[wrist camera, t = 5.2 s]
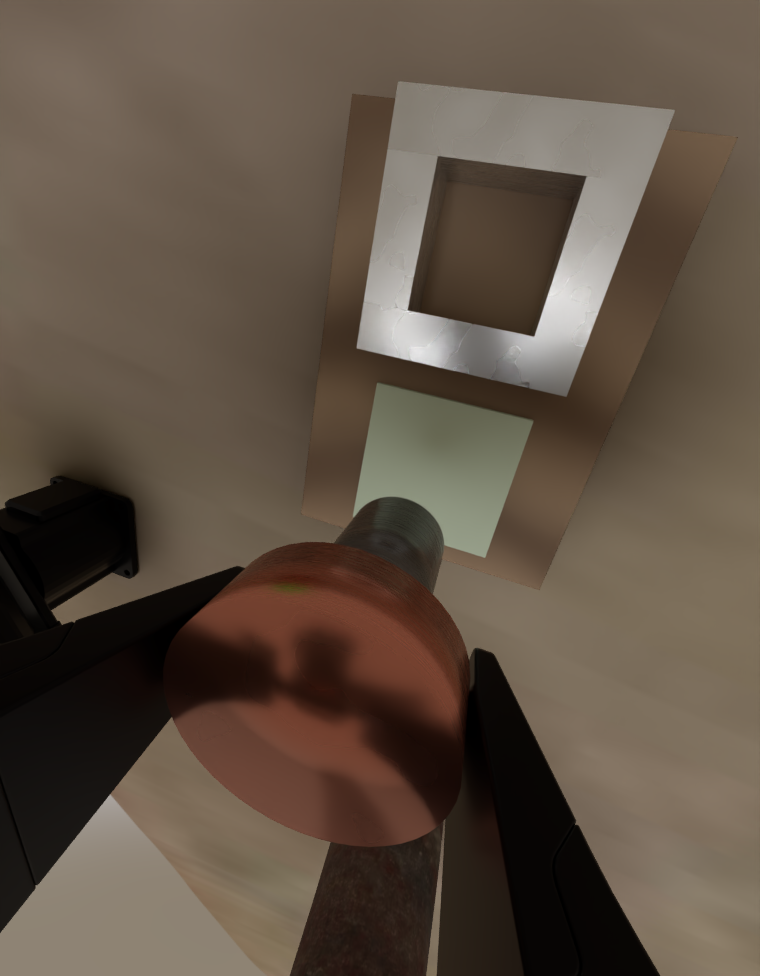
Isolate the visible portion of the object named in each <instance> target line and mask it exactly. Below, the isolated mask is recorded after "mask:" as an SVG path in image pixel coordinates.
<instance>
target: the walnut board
mask: <svg viewBox="0 0 760 976" xmlns="http://www.w3.org/2000/svg"><path fill="white" fill-rule="evenodd" d="M394 105H395V99H393V98H384V97H375V96H366V95H357V94H352V101H351V109H350V118H349V126H348V134H347V142H346V150H345V158H344V167H343V175H342V183H341V191H340V199H339V207H338V216H337V224H336V232H335V240H334V248H333V257H332V265H331V273H330V281H329V289H328V297H327V306H326V314H325V322H324V330H323V338H322V346H321V355H320V363H319V371H318V379H317V387H316V396H315V404H314V412H313V420H312V428H311V436H310V445H309V453H308V461H307V469H306V477H305V485H304V494H303V502H302V510H301V515H305V516H308V517H311V518H314V519H317V520H320V521H323V522H327V523H330V524H333V525H336V526H339V527H342V528H346V527H347V526H348V524H349V523H350V522H351V521H352V519H353V518H354V517H353V512H354V506H355V501H356V495H357V490H358V484H359V479H360V473H361V468H362V463H363V457H364V452H365V446H366V441H367V435H368V430H369V424H370V419H371V413H372V408H373V402H374V397H375V391H376V386H377V383H378V382H380V383H385V384H389V385H393V386H397V387H401V388H405V389H409V390H413V391H417V392H421V393H425V394H430V395H434V396H438V397H442V398H446V399H450V400H454V401H458V402H462V403H466V404H470V405H474V406H479V407H483V408H487V409H491V410H495V411H499V412H503V413H507V414H511V415H515V416H519V417H524V418H528V419H532V420H533V424H532V427H531V430H530V433H529V436H528V438H527V441H526V444H525V447H524V450H523V452H522V455H521V458H520V461H519V464H518V467H517V469H516V472H515V475H514V478H513V481H512V483H511V486H510V489H509V492H508V495H507V498H506V500H505V503H504V506H503V509H502V512H501V515H500V517H499V520H498V523H497V526H496V529H495V531H494V534H493V537H492V540H491V543H490V546H489V548H488V551H487V554H486V557H485V558H484V557H481V556H477V555H474V554H471V553H468V552H465V551H461V550H458V549H455V548H452V547H448V546H445V545H444V552H443V556H442V559H443V560H446V561H449V562H453V563H456V564H459V565H462V566H465V567H468V568H471V569H475V570H478V571H481V572H484V573H487V574H490V575H494V576H497V577H500V578H503V579H506V580H509V581H512V582H516V583H519V584H522V585H525V586H528V587H531V588H534V589H538V590H540V587H541V585H542V583H543V581H544V578H545V576H546V574H547V571H548V569H549V567H550V565H551V562H552V560H553V558H554V556H555V553H556V551H557V549H558V546H559V544H560V542H561V540H562V537H563V535H564V533H565V530H566V528H567V526H568V524H569V521H570V519H571V517H572V514H573V512H574V510H575V508H576V505H577V503H578V501H579V499H580V496H581V494H582V492H583V489H584V487H585V485H586V483H587V480H588V478H589V476H590V473H591V471H592V469H593V467H594V464H595V462H596V460H597V457H598V455H599V453H600V451H601V448H602V446H603V444H604V441H605V439H606V437H607V435H608V432H609V430H610V428H611V426H612V423H613V421H614V419H615V416H616V414H617V412H618V410H619V407H620V405H621V403H622V400H623V398H624V396H625V394H626V391H627V389H628V387H629V384H630V382H631V380H632V378H633V375H634V373H635V371H636V369H637V366H638V364H639V362H640V359H641V357H642V355H643V353H644V350H645V348H646V346H647V343H648V341H649V339H650V337H651V334H652V332H653V330H654V327H655V325H656V323H657V321H658V318H659V316H660V314H661V311H662V309H663V307H664V305H665V302H666V300H667V298H668V296H669V293H670V291H671V289H672V286H673V284H674V282H675V280H676V277H677V275H678V273H679V270H680V268H681V266H682V264H683V261H684V259H685V257H686V254H687V252H688V250H689V248H690V245H691V243H692V241H693V239H694V236H695V234H696V232H697V229H698V227H699V225H700V223H701V220H702V218H703V216H704V213H705V211H706V209H707V207H708V204H709V202H710V200H711V197H712V195H713V193H714V191H715V188H716V186H717V184H718V182H719V179H720V177H721V175H722V172H723V170H724V168H725V166H726V163H727V161H728V159H729V156H730V154H731V152H732V150H733V147H734V145H735V143H736V140H737V138H738V137H732V136H723V135H714V134H705V133H696V132H687V131H678V130H669V129H668V130H667V133H666V136H665V138H664V141H663V144H662V146H661V149H660V152H659V154H658V157H657V159H656V162H655V165H654V167H653V170H652V173H651V175H650V178H649V181H648V183H647V186H646V188H645V191H644V194H643V196H642V199H641V202H640V204H639V207H638V210H637V212H636V215H635V217H634V220H633V223H632V225H631V228H630V231H629V233H628V236H627V239H626V241H625V244H624V246H623V249H622V252H621V254H620V257H619V260H618V262H617V265H616V267H615V270H614V273H613V275H612V278H611V281H610V283H609V286H608V289H607V291H606V294H605V296H604V299H603V302H602V304H601V307H600V310H599V312H598V315H597V318H596V320H595V323H594V325H593V328H592V331H591V333H590V336H589V339H588V341H587V344H586V347H585V349H584V352H583V354H582V357H581V360H580V362H579V365H578V368H577V370H576V373H575V376H574V378H573V381H572V383H571V386H570V389H569V391H568V394H567V397H565V396H560V395H556V394H552V393H548V392H543V391H539V390H535V389H530V388H526V387H522V386H517V385H513V384H509V383H504V382H500V381H496V380H491V379H487V378H483V377H478V376H474V375H470V374H465V373H461V372H457V371H452V370H448V369H444V368H439V367H435V366H431V365H426V364H422V363H418V362H414V361H409V360H405V359H401V358H396V357H392V356H388V355H383V354H379V353H375V352H370V351H366V350H362V349H357V348H356V347H357V341H358V335H359V328H360V322H361V315H362V309H363V303H364V296H365V290H366V284H367V277H368V271H369V264H370V258H371V252H372V245H373V239H374V232H375V226H376V220H377V213H378V207H379V201H380V194H381V188H382V181H383V175H384V169H385V162H386V156H387V149H388V143H389V137H390V130H391V124H392V117H393V111H394ZM573 201H574V200H571V199H564V198H557V197H550V196H544V195H537V194H530V193H523V192H516V191H509V190H503V189H496V188H489V187H482V186H475V185H469V184H462V183H455V182H448V181H447V186H446V191H445V196H444V200H443V205H442V210H441V215H440V219H439V224H438V229H437V233H436V238H435V243H434V248H433V252H432V257H431V262H430V267H429V271H428V276H427V281H426V286H425V290H424V295H423V300H422V305H421V309H420V313H424V314H428V315H433V316H438V317H443V318H448V319H452V320H457V321H462V322H467V323H471V324H476V325H481V326H486V327H491V328H495V329H500V330H505V331H510V332H515V333H519V334H524V335H529V336H530V334H531V331H532V328H533V325H534V322H535V319H536V315H537V312H538V309H539V306H540V303H541V300H542V297H543V294H544V291H545V288H546V284H547V281H548V278H549V275H550V272H551V269H552V266H553V263H554V260H555V256H556V253H557V250H558V247H559V244H560V241H561V238H562V235H563V232H564V229H565V225H566V222H567V219H568V216H569V213H570V210H571V207H572V204H573Z"/></svg>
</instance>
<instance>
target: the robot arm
mask: <svg viewBox="0 0 760 976" xmlns="http://www.w3.org/2000/svg"><path fill="white" fill-rule="evenodd" d="M50 484H51V485H50V486H47V487H44V488H41V489H38V490H35V491H32V492H29V493H27V494H24V495H21V496H18V497H15V498H12V499H9V500H8V501H7V502H5V508H3V509H0V933H1V931H2V930H3V929H4V928H5V926H6V925H7V923H8V922H9V921H10V920H11V919H12V917H13V916H14V915H15V914H16V912H17V911H18V910H19V909H20V907H21V906H22V905H23V904H24V902H25V901H26V900H27V898H28V897H29V896H30V895H31V893H32V892H33V891H34V890H35V885H38V884H39V883H40V882H41V880H42V879H43V878H44V877H45V875H46V874H47V873H48V872H49V870H50V869H51V868H52V867H53V865H54V864H55V863H56V862H57V860H58V859H59V858H60V857H61V855H62V854H63V853H64V851H65V850H66V849H67V848H68V846H69V845H70V844H71V843H72V841H73V840H74V839H75V838H76V836H77V835H78V834H79V833H80V831H81V830H82V829H83V828H84V826H85V825H86V824H87V823H88V821H89V820H90V819H91V817H92V816H93V815H94V814H95V813H96V811H97V810H98V809H99V807H100V806H101V805H102V804H103V802H104V801H105V800H106V799H107V797H108V796H109V795H110V794H111V792H112V791H113V790H114V789H115V787H116V786H117V785H118V784H119V782H120V781H121V780H122V779H123V777H124V776H125V775H126V774H127V772H128V771H129V770H130V769H131V767H132V766H133V765H134V763H135V762H136V761H137V760H138V758H139V757H140V756H141V755H142V753H143V752H144V751H145V750H146V748H147V747H148V746H149V745H150V743H151V742H152V741H153V740H154V738H155V737H156V736H157V735H158V733H159V732H160V731H161V730H162V728H163V727H164V726H165V724H166V723H167V722H168V721H169V719H170V718H171V717H172V715H171V713H170V711H169V708H168V704H167V700H166V697H165V691H164V683H163V668H164V662H165V657H166V653H167V651H168V648H169V646H170V643H171V641H172V640H173V638H174V637H175V635H176V634H177V633H178V631H179V630H180V629H181V628H182V627H183V626H184V625H185V624H186V623H187V622H188V621H189V620H190V619H191V618H193V617H194V616H195V615H196V614H197V613H198V612H199V611H200V610H201V609H202V608H203V607H204V606H205V605H206V604H208V603H209V602H210V601H211V600H212V599H213V598H214V597H215V596H216V595H217V594H218V593H219V592H220V591H221V590H222V589H224V588H225V587H226V586H227V585H228V584H229V583H230V582H231V581H232V580H233V579H234V578H235V577H236V576H237V575H239V574H240V573H241V572H242V571H243V570H244V569H245V568H243V567H240V566H236V567H233V568H230V569H227V570H224V571H221V572H218V573H215V574H212V575H209V576H206V577H203V578H200V579H197V580H194V581H191V582H188V583H185V584H182V585H179V586H176V587H173V588H170V589H167V590H164V591H161V592H158V593H156V594H153V595H150V596H147V597H144V598H141V599H138V600H135V601H132V602H129V603H126V604H123V605H120V606H117V607H114V608H111V609H108V610H105V611H102V612H99V613H96V614H93V615H90V616H87V617H84V618H81V619H78V620H76V621H75V623H74V622H69V623H66V624H63V625H62V624H61V623H60V621H57V620H56V618H55V616H54V615H53V613H52V611H51V610H52V609H54V608H56V607H57V606H59V605H60V604H62V603H64V602H65V601H67V600H68V599H70V598H72V597H73V596H75V595H77V594H78V593H80V592H81V591H83V590H85V589H86V588H88V587H89V586H91V585H93V584H94V583H96V582H97V581H99V580H101V579H102V578H104V577H105V576H107V575H109V574H110V573H112V572H113V573H115V574H118V575H120V576H123V577H126V578H129V579H130V578H132V577H134V576H135V575H136V574H137V561H136V548H135V534H134V520H133V507H132V503H131V502H130V501H129V500H128V499H127V498H124V497H121V496H119V495H116V494H113V493H110V492H107V491H104V490H101V489H98V488H95V487H92V486H89V485H87V484H84V483H81V482H78V481H75V480H72V479H68V478H65V477H62V476H56V477H53V478H51V480H50ZM469 664H470V688H469V700H468V711H467V723H466V735H465V746H464V758H463V770H462V780H461V789H460V792H459V795H458V798H457V802H456V803H455V805H454V807H453V809H452V810H451V812H450V814H449V815H448V816H447V817H446V821H445V839H444V857H443V874H442V892H441V910H440V928H439V945H438V963H437V976H660V974H659V973H658V971H657V969H656V967H655V966H654V964H653V962H652V961H651V959H650V957H649V955H648V954H647V952H646V950H645V949H644V947H643V945H642V943H641V942H640V940H639V938H638V936H637V935H636V933H635V931H634V929H633V928H632V926H631V924H630V922H629V920H628V919H627V917H626V915H625V913H624V912H623V910H622V908H621V906H620V904H619V903H618V901H617V899H616V897H615V896H614V894H613V892H612V890H611V888H610V886H609V884H608V882H607V880H606V878H605V877H604V875H603V873H602V871H601V869H600V867H599V865H598V863H597V861H596V859H595V857H594V855H593V853H592V851H591V849H590V847H589V845H588V843H587V841H586V839H585V837H584V835H583V833H582V831H581V829H580V827H579V826H578V825H575V823H576V819H575V817H574V815H573V813H572V811H571V809H570V807H569V805H568V803H567V801H566V799H565V797H564V795H563V793H562V791H561V789H560V787H559V785H558V783H557V781H556V779H555V777H554V775H553V773H552V771H551V769H550V767H549V764H548V762H547V760H546V758H545V756H544V754H543V752H542V750H541V748H540V746H539V744H538V742H537V740H536V738H535V736H534V734H533V732H532V730H531V728H530V726H529V724H528V722H527V720H526V718H525V716H524V714H523V712H522V710H521V708H520V706H519V704H518V702H517V699H516V697H515V695H514V693H513V691H512V689H511V687H510V685H509V683H508V681H507V679H506V677H505V675H504V673H503V671H502V669H501V667H500V665H499V663H498V661H497V659H496V657H495V655H494V654H493V653H491V652H488V651H486V650H483V649H480V648H475V649H474V650H473V652H472V654H471V657H470V660H469Z"/></svg>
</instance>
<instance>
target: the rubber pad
mask: <svg viewBox="0 0 760 976" xmlns="http://www.w3.org/2000/svg"><path fill="white" fill-rule="evenodd" d="M532 424H533V420H532V419H528V418H524V417H519V416H515V415H511V414H507V413H503V412H499V411H495V410H491V409H487V408H483V407H479V406H474V405H470V404H466V403H462V402H458V401H454V400H450V399H446V398H442V397H438V396H434V395H430V394H425V393H421V392H417V391H413V390H409V389H405V388H401V387H397V386H393V385H389V384H385V383H380V382H378V383H377V386H376V391H375V397H374V402H373V408H372V413H371V419H370V424H369V430H368V435H367V441H366V446H365V452H364V457H363V463H362V468H361V473H360V479H359V484H358V490H357V495H356V501H355V506H354V512H353V517H355V515H356V514H357V513H358V512H359V510H360V509H361V508H362V507H363V506H365V505H366V504H367V503H369V502H371V501H373V500H375V499H378V498H382V497H401V498H406V499H409V500H411V501H414V502H416V503H418V504H419V505H421V506H423V507H424V508H425V509H426V510H428V511H429V512H430V513H431V514H432V515H433V517H434V518H435V519H436V521H437V522H438V524H439V526H440V528H441V530H442V533H443V537H444V545H445V546H448V547H452V548H455V549H458V550H461V551H465V552H468V553H471V554H474V555H477V556H481V557H484V558H485V557H486V554H487V551H488V548H489V546H490V543H491V540H492V537H493V534H494V531H495V529H496V526H497V523H498V520H499V517H500V515H501V512H502V509H503V506H504V503H505V500H506V498H507V495H508V492H509V489H510V486H511V483H512V481H513V478H514V475H515V472H516V469H517V467H518V464H519V461H520V458H521V455H522V452H523V450H524V447H525V444H526V441H527V438H528V436H529V433H530V430H531V427H532Z"/></svg>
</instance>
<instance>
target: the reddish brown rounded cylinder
mask: <svg viewBox="0 0 760 976" xmlns="http://www.w3.org/2000/svg"><path fill="white" fill-rule="evenodd" d="M443 552H444V537H443V533H442V530H441V528H440V526H439V524H438V522H437V521H436V519H435V518H434V517H433V515H432V514H431V513H430V512H429V511H428V510H426V509H425V508H424V507H423V506H421V505H419V504H418V503H416V502H414V501H411V500H409V499H406V498H401V497H382V498H378V499H375V500H373V501H371V502H369V503H367V504H366V505H365V506H363V507H362V508H361V509H360V510H359V512H358V513H357V514H356V515H355V517H354V518H353V519H352V521H351V522H350V523H349V524H348V526H347V527H346V528H345V529H344V531H343V532H342V533H341V535H340V536H339V537H338V538H337V540H336V541H335V542H334V544H333V543H325V542H305V543H297V544H290V545H286V546H283V547H279V548H276V549H274V550H271V551H269V552H267V553H265V554H263V555H261V556H260V557H258V558H257V559H255V560H254V561H253V562H251V563H250V564H249V565H248V566H247V567H246V568H245V569H244V570H243V571H242V572H241V573H240V574H239V575H237V576H236V577H235V578H234V579H233V580H232V581H231V582H230V583H229V584H228V585H227V586H226V587H225V588H224V589H222V590H221V591H220V592H219V593H218V594H217V595H216V596H215V597H214V598H213V599H212V600H211V601H210V602H209V603H208V604H206V605H205V606H204V607H203V608H202V609H201V610H200V611H199V612H198V613H197V614H196V615H195V616H194V617H193V618H191V619H190V620H189V621H188V622H187V623H186V624H185V625H184V626H183V627H182V628H181V629H180V630H179V631H178V633H177V634H176V635H175V637H174V638H173V640H172V641H171V643H170V646H169V648H168V651H167V653H166V657H165V662H164V668H163V683H164V691H165V697H166V700H167V704H168V708H169V711H170V713H171V715H172V718H173V720H174V723H175V725H176V727H177V729H178V730H179V732H180V734H181V736H182V738H183V739H184V741H185V742H186V744H187V745H188V747H189V748H190V750H191V751H192V752H193V754H194V755H195V756H196V758H197V759H198V760H199V761H200V763H201V764H202V765H203V766H204V767H205V768H206V769H207V770H208V771H209V772H210V773H211V775H212V776H213V777H214V778H216V779H217V780H218V781H219V782H220V783H221V784H222V785H223V786H224V787H225V788H226V789H228V790H229V791H230V792H231V793H233V794H234V795H235V796H236V797H238V798H239V799H240V800H242V801H243V802H245V803H246V804H248V805H249V806H250V807H252V808H253V809H255V810H257V811H258V812H260V813H262V814H263V815H265V816H267V817H268V818H270V819H272V820H274V821H276V822H278V823H280V824H282V825H284V826H286V827H288V828H291V829H293V830H295V831H298V832H300V833H303V834H306V835H309V836H312V837H315V838H318V839H321V840H325V841H330V842H334V843H338V844H345V845H351V846H364V847H378V846H390V845H396V844H402V843H405V842H408V841H412V840H415V839H417V838H419V837H421V836H423V835H425V834H427V833H429V832H430V831H432V830H433V829H435V828H436V827H437V826H439V825H440V824H441V823H442V822H443V821H444V820H445V818H446V817H447V816H448V815H449V814H450V812H451V810H452V809H453V807H454V805H455V803H456V802H457V798H458V795H459V792H460V789H461V780H462V770H463V758H464V746H465V735H466V723H467V711H468V700H469V688H470V664H469V659H468V655H467V650H466V647H465V644H464V642H463V639H462V637H461V634H460V632H459V630H458V628H457V626H456V625H455V623H454V621H453V620H452V618H451V616H450V615H449V613H448V612H447V611H446V610H445V608H444V607H443V606H442V604H441V603H440V602H439V601H438V600H437V599H436V597H435V596H434V595H433V592H434V588H435V584H436V580H437V576H438V572H439V568H440V564H441V560H442V556H443Z"/></svg>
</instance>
